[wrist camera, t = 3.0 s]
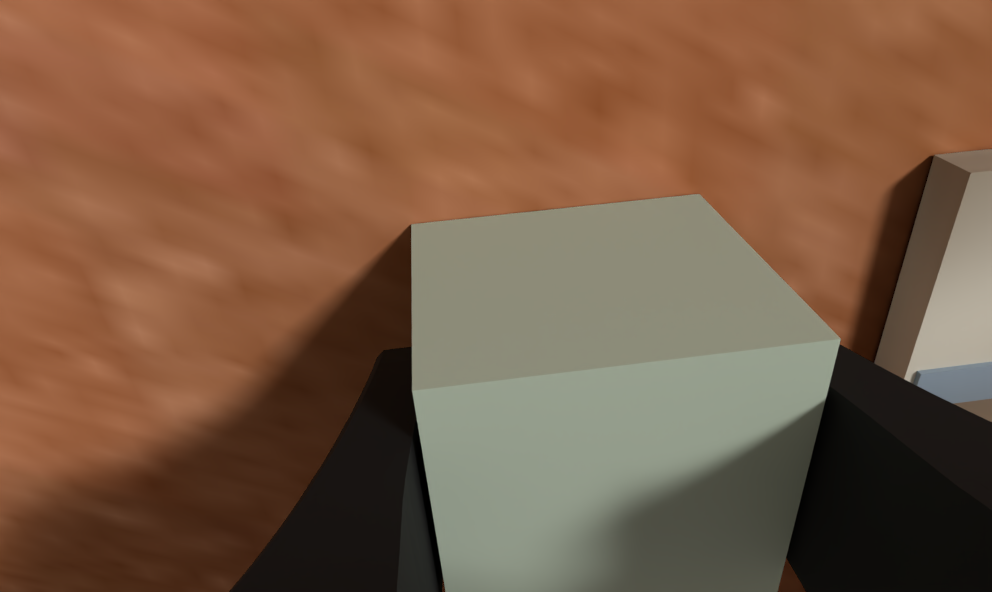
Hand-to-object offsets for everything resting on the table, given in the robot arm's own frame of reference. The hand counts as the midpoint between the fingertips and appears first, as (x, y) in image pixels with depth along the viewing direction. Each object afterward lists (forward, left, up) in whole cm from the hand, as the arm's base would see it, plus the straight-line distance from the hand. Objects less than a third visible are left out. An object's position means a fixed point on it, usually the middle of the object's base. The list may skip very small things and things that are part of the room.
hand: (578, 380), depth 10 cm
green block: (0, 0, -1) cm, 1 cm away
